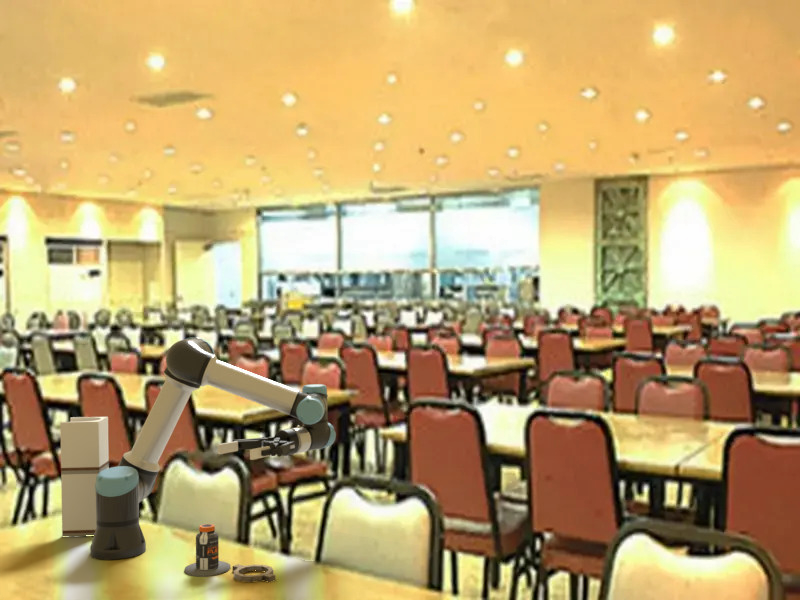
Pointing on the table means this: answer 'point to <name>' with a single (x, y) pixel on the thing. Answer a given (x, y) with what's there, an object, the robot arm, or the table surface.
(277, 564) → the table surface
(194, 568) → the coaster
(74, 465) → the beige tall box
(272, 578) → the collar
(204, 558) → the pill bottle
